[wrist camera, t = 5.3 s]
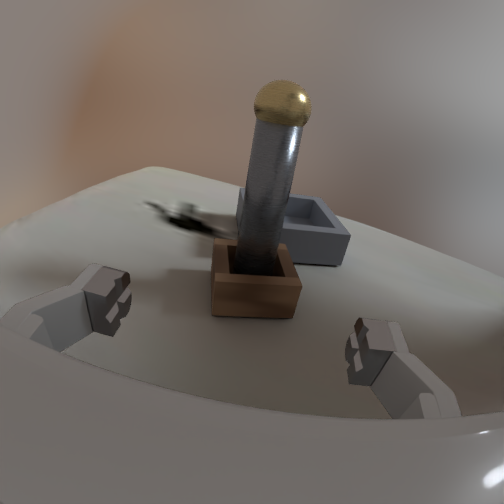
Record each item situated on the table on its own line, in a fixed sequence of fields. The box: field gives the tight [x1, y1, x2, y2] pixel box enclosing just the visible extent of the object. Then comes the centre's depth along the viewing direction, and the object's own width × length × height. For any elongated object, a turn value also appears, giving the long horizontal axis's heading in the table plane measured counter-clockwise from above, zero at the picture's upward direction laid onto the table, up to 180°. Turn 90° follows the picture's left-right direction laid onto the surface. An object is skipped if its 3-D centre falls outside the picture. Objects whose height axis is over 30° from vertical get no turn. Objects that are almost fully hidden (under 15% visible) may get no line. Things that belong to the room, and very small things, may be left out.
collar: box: [211, 238, 302, 318], centre depth 24 cm, size 6×6×3 cm
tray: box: [236, 188, 351, 266], centre depth 34 cm, size 10×10×4 cm
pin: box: [233, 80, 311, 276], centre depth 21 cm, size 4×4×16 cm
